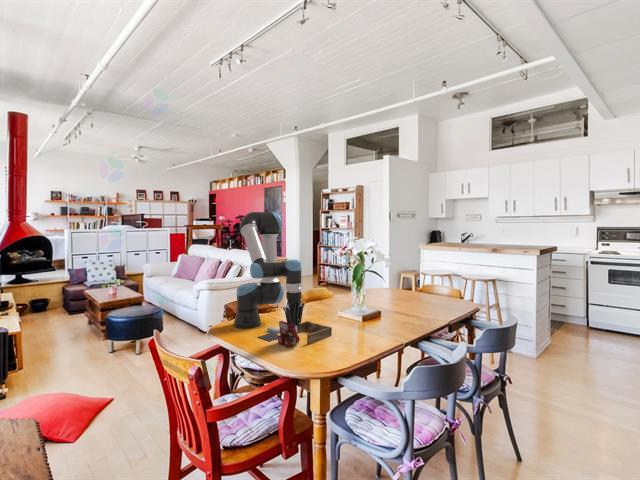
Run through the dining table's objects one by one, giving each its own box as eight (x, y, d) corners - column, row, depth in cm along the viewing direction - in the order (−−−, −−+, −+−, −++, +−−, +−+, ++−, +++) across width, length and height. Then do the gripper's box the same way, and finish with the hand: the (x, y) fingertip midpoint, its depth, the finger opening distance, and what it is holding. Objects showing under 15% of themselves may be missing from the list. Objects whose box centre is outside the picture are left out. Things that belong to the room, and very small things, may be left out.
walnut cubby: (284, 336, 185) (284, 328, 185) (307, 328, 198) (307, 320, 198) (309, 344, 174) (309, 335, 174) (331, 335, 187) (331, 327, 187)
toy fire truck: (291, 349, 168) (289, 328, 166) (275, 342, 177) (273, 322, 175) (303, 344, 173) (301, 323, 171) (286, 337, 181) (284, 318, 180)
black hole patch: (257, 337, 184) (257, 336, 184) (270, 333, 191) (270, 332, 191) (269, 341, 178) (269, 340, 178) (282, 337, 185) (282, 336, 185)
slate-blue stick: (267, 331, 195) (267, 327, 195) (270, 330, 197) (270, 326, 196) (277, 334, 189) (277, 331, 189) (280, 333, 191) (280, 330, 191)
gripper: (289, 294, 169) (290, 343, 170) (308, 290, 179) (308, 336, 180) (279, 292, 174) (279, 340, 175) (297, 288, 183) (298, 333, 185)
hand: (294, 338), depth 178 cm, fingers closed
